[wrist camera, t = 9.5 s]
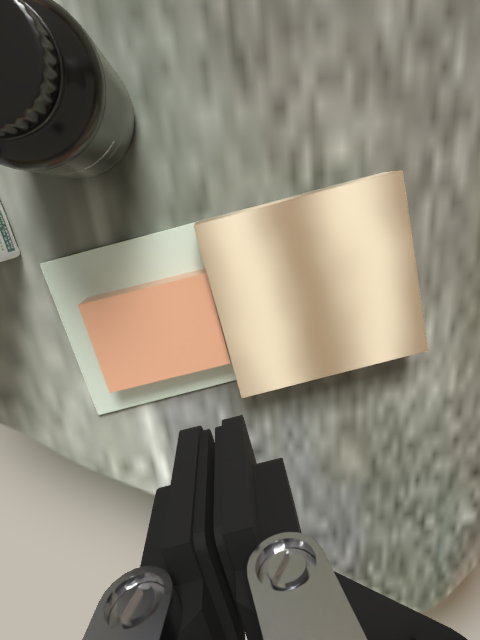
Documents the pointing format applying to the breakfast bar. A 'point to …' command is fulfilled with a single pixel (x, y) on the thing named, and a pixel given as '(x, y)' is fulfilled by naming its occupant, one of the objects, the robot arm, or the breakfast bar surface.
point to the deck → (315, 283)
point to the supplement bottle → (58, 95)
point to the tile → (155, 330)
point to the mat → (118, 273)
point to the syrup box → (6, 239)
